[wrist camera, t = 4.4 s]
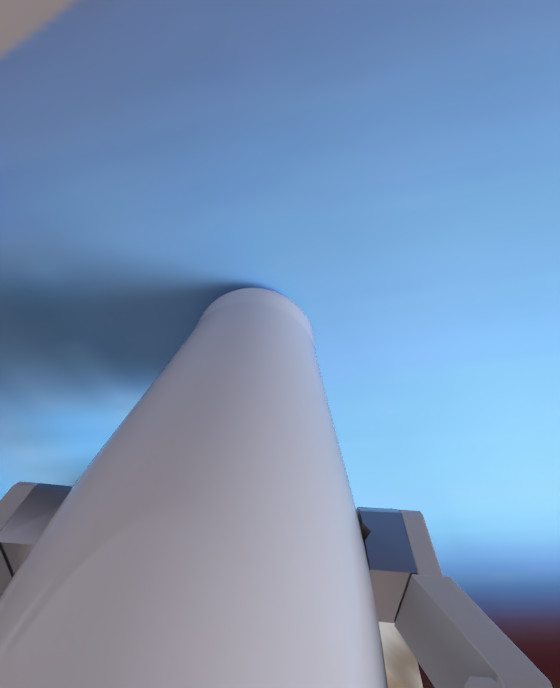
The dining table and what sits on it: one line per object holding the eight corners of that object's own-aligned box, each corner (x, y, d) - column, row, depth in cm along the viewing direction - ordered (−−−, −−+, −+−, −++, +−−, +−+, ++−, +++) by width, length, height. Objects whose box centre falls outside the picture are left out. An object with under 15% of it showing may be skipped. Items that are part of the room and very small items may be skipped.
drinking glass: (199, 402, 20) (12, 910, 7) (167, 274, 17) (-275, 749, 4) (333, 393, 20) (408, 928, 6) (325, 259, 17) (440, 758, 3)
